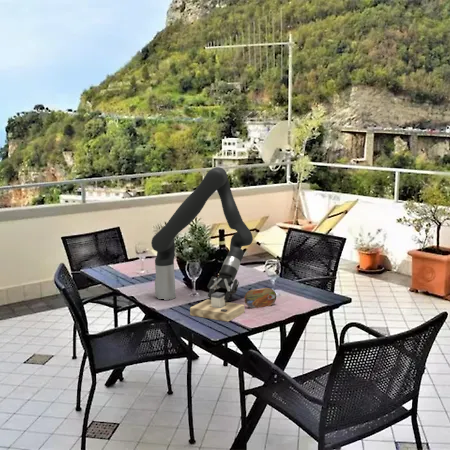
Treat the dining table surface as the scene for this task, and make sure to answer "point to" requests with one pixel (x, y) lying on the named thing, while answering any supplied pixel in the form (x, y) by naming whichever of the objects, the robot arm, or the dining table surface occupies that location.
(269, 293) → the tin
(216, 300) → the plug
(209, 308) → the socket board
